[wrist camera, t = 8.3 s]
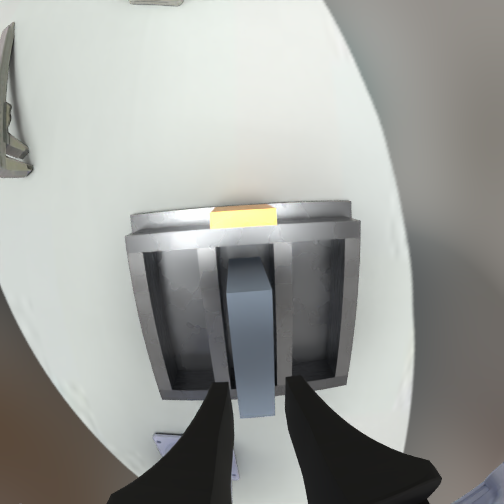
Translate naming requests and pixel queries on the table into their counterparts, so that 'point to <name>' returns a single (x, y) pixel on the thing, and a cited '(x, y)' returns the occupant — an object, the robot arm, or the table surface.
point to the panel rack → (215, 285)
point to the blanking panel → (251, 336)
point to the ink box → (157, 2)
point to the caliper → (9, 117)
